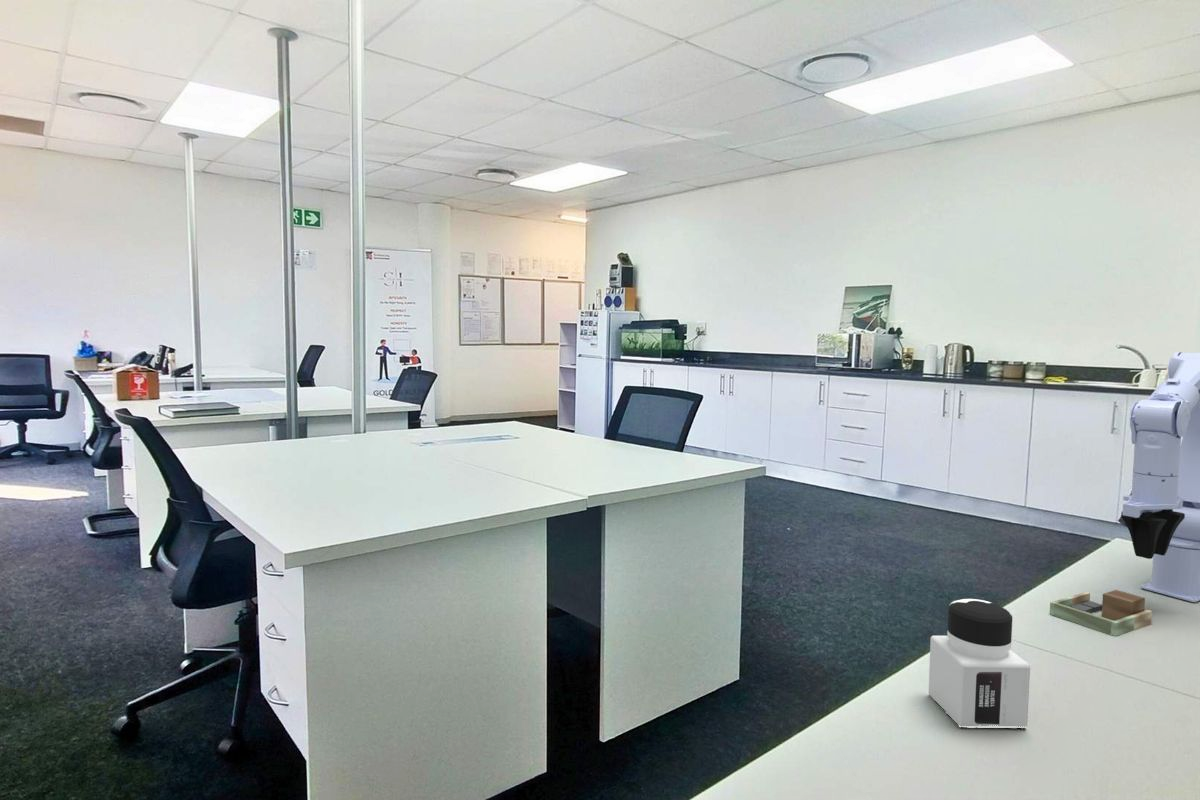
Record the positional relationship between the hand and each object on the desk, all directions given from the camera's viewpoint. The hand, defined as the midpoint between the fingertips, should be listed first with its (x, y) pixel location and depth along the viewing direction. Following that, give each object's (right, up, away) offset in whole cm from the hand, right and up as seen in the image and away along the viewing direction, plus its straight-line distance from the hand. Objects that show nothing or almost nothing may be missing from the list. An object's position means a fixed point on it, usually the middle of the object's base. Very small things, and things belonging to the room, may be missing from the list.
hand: (1150, 555), depth 109 cm
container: (-46, -12, -30) cm, 56 cm away
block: (-7, -10, -3) cm, 12 cm away
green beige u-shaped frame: (-10, -10, -3) cm, 14 cm away
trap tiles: (-10, -9, +1) cm, 13 cm away
